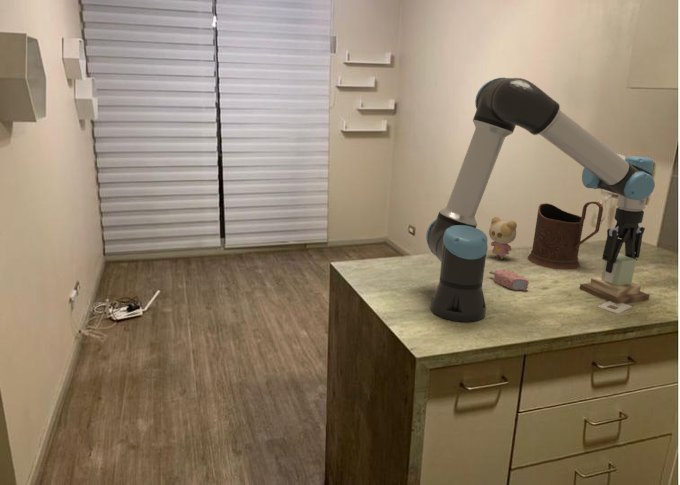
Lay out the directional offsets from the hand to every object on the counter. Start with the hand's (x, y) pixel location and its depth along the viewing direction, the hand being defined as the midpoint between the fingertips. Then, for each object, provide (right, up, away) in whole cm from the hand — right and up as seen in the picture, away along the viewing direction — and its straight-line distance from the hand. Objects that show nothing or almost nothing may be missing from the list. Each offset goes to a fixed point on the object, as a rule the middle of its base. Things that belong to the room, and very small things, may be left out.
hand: (616, 280), depth 169 cm
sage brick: (0, 0, 0) cm, 0 cm away
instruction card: (-5, -7, -9) cm, 13 cm away
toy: (-27, +6, +33) cm, 43 cm away
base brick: (0, -4, +1) cm, 4 cm away
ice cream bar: (-33, -2, +6) cm, 33 cm away
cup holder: (-6, +4, +29) cm, 30 cm away
